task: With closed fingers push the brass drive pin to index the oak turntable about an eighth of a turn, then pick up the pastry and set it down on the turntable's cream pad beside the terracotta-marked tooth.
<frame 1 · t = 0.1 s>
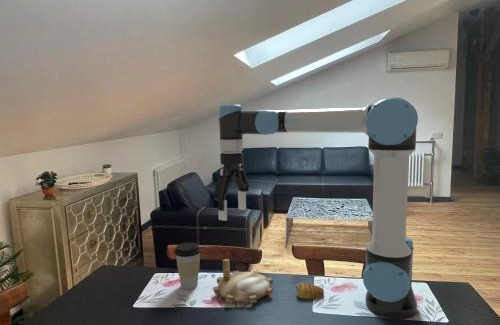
hand: (233, 214, 118), 28 cm above the table, fingers open, 13 cm apart
coffee cup: (189, 286, 127), on the table
turntable: (243, 275, 122), point 6 cm above the table, hinge at 0.0°
pastry: (307, 295, 120), on the table
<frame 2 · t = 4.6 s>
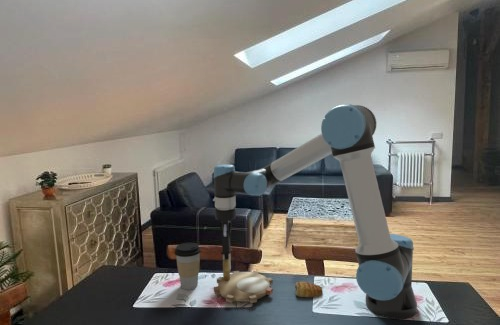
hand: (227, 269, 129), 5 cm above the table, fingers closed
turntable: (243, 275, 122), point 6 cm above the table, hinge at 0.1°, touching gripper
pastry: (306, 294, 121), on the table
everything else where it was.
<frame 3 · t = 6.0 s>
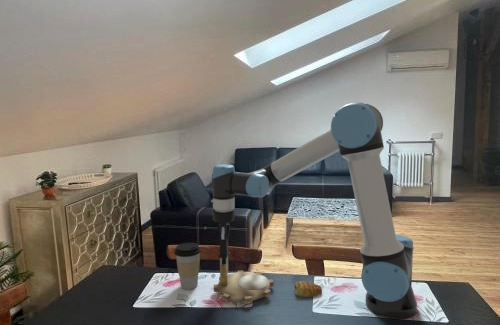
hand: (224, 273, 124), 6 cm above the table, fingers closed
turntable: (243, 275, 122), point 6 cm above the table, hinge at 35.9°, touching gripper
everything else where it was.
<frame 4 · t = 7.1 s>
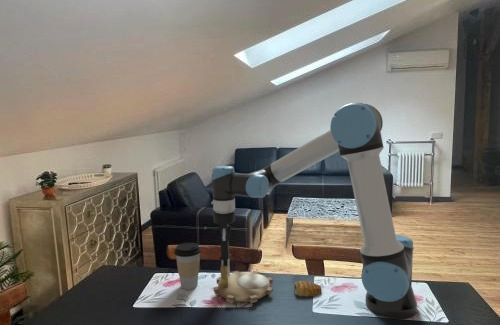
hand: (225, 275, 124), 5 cm above the table, fingers closed
turntable: (243, 275, 122), point 6 cm above the table, hinge at 46.4°
everything else where it was.
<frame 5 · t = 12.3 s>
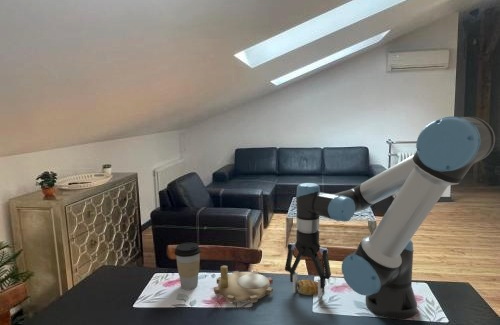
hand: (307, 293, 120), 0 cm above the table, fingers open, 8 cm apart
pastry: (308, 291, 122), on the table, touching gripper
everything else where it was.
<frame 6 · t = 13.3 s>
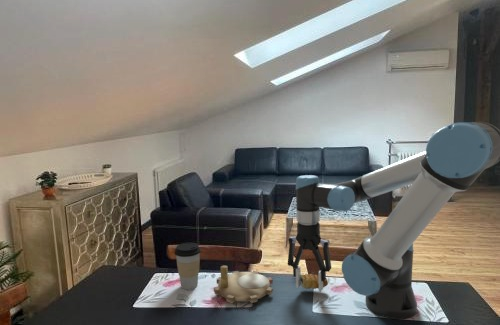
hand: (309, 287, 119), 3 cm above the table, fingers closed on pastry, 7 cm apart
pastry: (312, 285, 121), point 2 cm above the table, touching gripper
everything else where it was.
when the fingers open (5 cm above the table, at t = 18.1 s): pastry drops 1 cm, resting on turntable.
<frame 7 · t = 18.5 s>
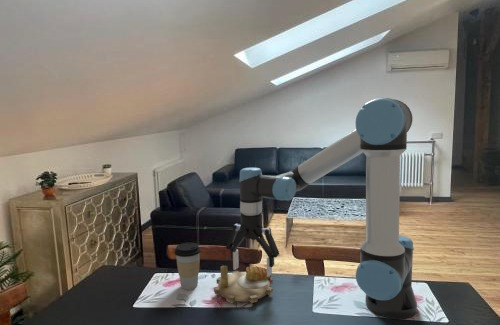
hand: (252, 271, 123), 6 cm above the table, fingers open, 12 cm apart
turntable: (243, 275, 122), point 6 cm above the table, hinge at 46.5°, touching pastry
pastry: (256, 277, 126), point 3 cm above the table, touching turntable
everything else where it was.
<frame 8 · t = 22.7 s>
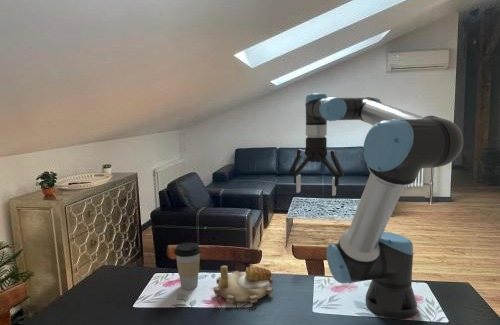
hand: (315, 193, 130), 32 cm above the table, fingers open, 13 cm apart
nothing on the table moved.
at the end: turntable at +46° (first picture: +0°); pastry inside the target area on the turntable (2.3 cm from its centre), point 2.9 cm above the turntable's base; pastry touching turntable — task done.
